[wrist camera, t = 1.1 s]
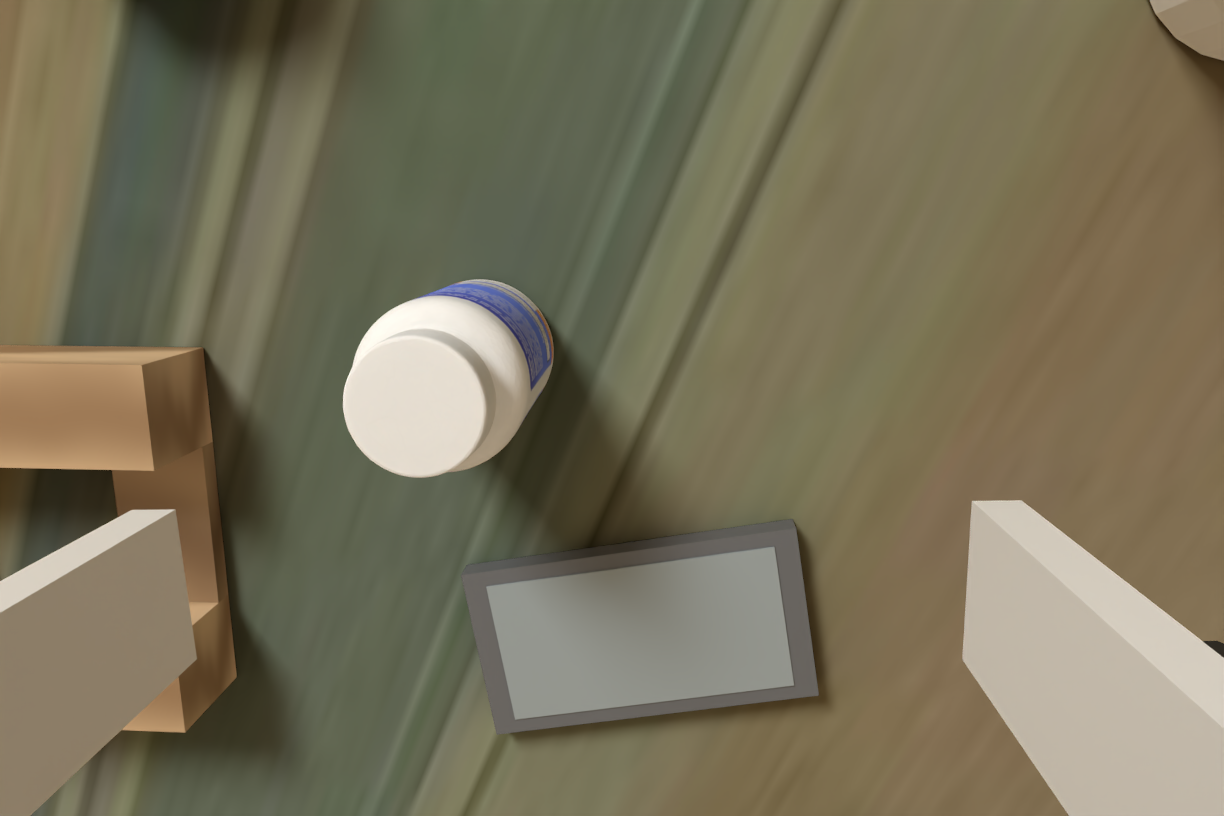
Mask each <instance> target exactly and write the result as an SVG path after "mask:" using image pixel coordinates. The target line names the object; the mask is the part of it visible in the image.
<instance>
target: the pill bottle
mask: <svg viewBox="0 0 1224 816" xmlns="http://www.w3.org/2000/svg"><path fill="white" fill-rule="evenodd" d="M553 358H554V347H553V340H552V335H551V332H550V329H549V326H548V324H547V322H546V320H545V318H544V316H543V315H542V313H541V311H540V310H539V309H538V308H537V306H536V305H535V304H534V303H533V302H532V301H531V300H530V299H529V298H528V297H526V296H525V295H524V294H523V293H521V292H520V291H518V290H517V289H515V288H513V287H511V286H509V285H506V284H504V283H501V282H497V281H492V280H482V279H477V280H468V281H463V282H459V283H455V284H453V285H450V286H448V287H445V288H442V289H440V290H437V291H435V292H432V293H429V294H427V295H424V296H422V297H419V298H416V299H413V300H411V301H408V302H405V303H403V304H401V305H399V306H397V307H395V308H393V309H392V310H390V311H388V312H387V313H386V314H384V315H383V316H382V317H381V318H379V319H378V320H377V321H376V322H375V323H374V324H373V325H372V327H371V328H370V329H369V330H368V332H367V333H366V334H365V336H364V337H363V339H362V341H361V343H360V345H359V347H358V349H357V352H356V355H355V358H354V362H353V367H352V369H351V371H350V374H349V375H348V378H347V381H346V384H345V388H344V394H343V411H344V416H345V421H346V424H347V427H348V430H349V432H350V434H351V436H352V438H353V440H354V441H355V443H356V444H357V446H358V447H359V448H360V449H361V451H362V452H363V453H364V454H365V455H366V456H367V457H368V458H369V459H370V460H372V461H373V462H374V463H376V464H377V465H379V466H380V467H382V468H384V469H386V470H388V471H390V472H392V473H395V474H398V475H402V476H407V477H416V478H423V477H432V476H437V475H440V474H443V473H446V472H455V471H460V470H465V469H469V468H472V467H474V466H477V465H479V464H481V463H483V462H485V461H487V460H489V459H490V458H492V457H493V456H494V455H496V454H497V453H499V452H500V451H501V450H502V449H503V448H504V447H505V446H506V445H507V444H508V443H509V441H510V440H511V439H512V438H513V436H514V435H515V433H516V432H517V430H518V429H519V427H520V426H521V424H522V422H523V421H524V419H525V417H526V416H527V414H528V412H529V411H530V409H531V407H532V406H533V404H534V403H535V401H536V400H537V398H538V397H539V395H540V394H541V392H542V391H543V389H544V387H545V385H546V383H547V381H548V378H549V376H550V373H551V369H552V365H553Z"/></svg>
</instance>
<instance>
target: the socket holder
mask: <svg viewBox="0 0 1224 816" xmlns="http://www.w3.org/2000/svg"><path fill="white" fill-rule="evenodd" d="M0 468H42V469H90V470H112V475H113V483H114V491H115V498H116V506H117V514H118V517H120V516H121V515H123V514H125V513H127V512H129V511H131V510H168V509H175V510H176V517H177V524H178V530H179V537H180V544H181V551H182V558H183V565H184V572H185V579H186V586H187V593H188V600H189V607H190V614H191V621H192V628H193V635H194V642H195V649H196V656H197V660H195V661H194V662H193V663H192V664H191V665H190V666H189V667H188V668H187V669H186V670H185V671H184V672H183V673H182V674H181V675H179V676H178V677H177V678H176V679H175V680H174V681H173V682H172V683H171V684H170V685H169V686H168V687H167V688H166V689H165V690H163V691H162V692H161V693H160V694H159V695H158V696H157V697H156V698H155V699H154V700H153V701H152V702H151V703H150V704H149V705H147V706H146V707H145V708H144V709H143V710H142V711H141V712H140V713H139V714H138V715H137V716H136V717H135V718H134V719H133V720H131V721H130V722H129V723H128V724H127V725H126V726H125V727H124V728H123V729H122V730H133V731H158V732H184V733H185V732H186V731H187V730H188V729H189V728H190V727H191V726H192V725H193V724H194V723H195V721H196V720H197V719H198V718H199V717H200V716H201V715H202V714H203V713H204V712H205V711H206V710H207V709H208V707H209V706H210V705H211V704H212V703H213V702H214V701H215V700H216V699H217V698H218V697H219V696H220V695H221V694H222V692H223V691H224V690H225V689H226V688H227V687H228V686H229V685H230V684H231V683H232V682H233V681H234V680H235V678H236V677H237V673H236V664H235V654H234V644H233V634H232V625H231V615H230V605H229V595H228V585H227V576H226V566H225V556H224V546H223V537H222V527H221V517H220V507H219V497H218V488H217V478H216V468H215V458H214V449H213V439H212V429H211V419H210V409H209V400H208V390H207V380H206V370H205V361H204V351H203V348H201V347H117V346H32V345H0Z"/></svg>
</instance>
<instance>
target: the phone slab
mask: <svg viewBox="0 0 1224 816" xmlns="http://www.w3.org/2000/svg"><path fill="white" fill-rule="evenodd" d="M461 577H462V581H463V586H464V590H465V595H466V599H467V604H468V608H469V613H470V617H471V622H472V626H473V631H474V635H475V639H476V644H477V648H478V653H479V657H480V662H481V666H482V671H483V675H484V680H485V684H486V689H487V693H488V697H489V702H490V706H491V711H492V715H493V720H494V724H495V729H496V733H497V734H505V733H513V732H521V731H530V730H538V729H546V728H554V727H563V726H571V725H579V724H587V723H596V722H604V721H612V720H620V719H629V718H637V717H645V716H653V715H662V714H670V713H678V712H686V711H695V710H703V709H711V708H720V707H728V706H736V705H744V704H753V703H761V702H769V701H777V700H786V699H794V698H802V697H810V696H819V692H818V685H817V678H816V670H815V663H814V655H813V648H812V641H811V633H810V626H809V619H808V611H807V604H806V597H805V589H804V582H803V575H802V567H801V560H800V553H799V545H798V538H797V531H796V527H795V524H794V522H793V519H790V520H783V521H776V522H769V523H761V524H754V525H747V526H740V527H733V528H726V529H719V530H712V531H705V532H698V533H691V534H684V535H676V536H669V537H662V538H655V539H648V540H641V541H634V542H627V543H620V544H613V545H606V546H599V547H591V548H584V549H577V550H570V551H563V552H556V553H549V554H542V555H535V556H528V557H521V558H514V559H506V560H499V561H492V562H485V563H478V564H471V565H467V566H466V568H465V569H464V571H463V573H462V575H461Z"/></svg>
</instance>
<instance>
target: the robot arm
mask: <svg viewBox="0 0 1224 816" xmlns="http://www.w3.org/2000/svg"><path fill="white" fill-rule="evenodd" d="M195 660H197V656H196V649H195V642H194V635H193V628H192V621H191V614H190V607H189V600H188V593H187V586H186V579H185V572H184V565H183V558H182V551H181V544H180V537H179V530H178V524H177V517H176V510H175V509H168V510H131V511H129V512H127V513H125V514H123V515H121V516H120V517H118V518H116V519H114V520H112V521H110V522H109V523H107V524H105V525H103V526H101V527H99V528H97V529H96V530H94V531H92V532H90V533H88V534H86V535H85V536H83V537H81V538H79V539H77V540H75V541H73V542H72V543H70V544H68V545H66V546H64V547H62V548H61V549H59V550H57V551H55V552H53V553H51V554H50V555H48V556H46V557H44V558H42V559H40V560H38V561H37V562H35V563H33V564H31V565H29V566H27V567H26V568H24V569H22V570H20V571H18V572H16V573H14V574H13V575H11V576H9V577H7V578H5V579H3V580H2V581H0V816H30V815H31V814H32V813H33V812H34V811H36V810H37V809H38V808H39V807H40V806H41V805H42V804H43V803H44V802H45V801H46V800H47V799H48V798H49V797H50V796H52V795H53V794H54V793H55V792H56V791H57V790H58V789H59V788H60V787H61V786H62V785H63V784H64V783H65V782H66V781H68V780H69V779H70V778H71V777H72V776H73V775H74V774H75V773H76V772H77V771H78V770H79V769H80V768H81V767H82V766H84V765H85V764H86V763H87V762H88V761H89V760H90V759H91V758H92V757H93V756H94V755H95V754H96V753H97V752H98V751H100V750H101V749H102V748H103V747H104V746H105V745H106V744H107V743H108V742H109V741H110V740H111V739H112V738H113V737H114V736H116V735H117V734H118V733H119V732H120V731H121V730H122V729H123V728H124V727H125V726H126V725H127V724H128V723H129V722H130V721H131V720H133V719H134V718H135V717H136V716H137V715H138V714H139V713H140V712H141V711H142V710H143V709H144V708H145V707H146V706H147V705H149V704H150V703H151V702H152V701H153V700H154V699H155V698H156V697H157V696H158V695H159V694H160V693H161V692H162V691H163V690H165V689H166V688H167V687H168V686H169V685H170V684H171V683H172V682H173V681H174V680H175V679H176V678H177V677H178V676H179V675H181V674H182V673H183V672H184V671H185V670H186V669H187V668H188V667H189V666H190V665H191V664H192V663H193V662H194V661H195ZM962 660H963V661H964V663H965V664H966V666H967V667H968V669H969V670H970V671H971V673H972V674H973V676H974V677H975V679H976V680H977V682H978V683H979V685H980V686H981V688H982V689H983V690H984V692H985V693H986V695H987V696H988V698H989V699H990V701H991V702H992V704H993V705H994V707H995V708H996V709H997V711H998V712H999V714H1000V715H1001V717H1002V718H1003V720H1004V721H1005V723H1006V724H1007V726H1008V727H1009V729H1010V730H1011V731H1012V733H1013V734H1014V736H1015V737H1016V739H1017V740H1018V742H1019V743H1020V745H1021V746H1022V748H1023V749H1024V750H1025V752H1026V753H1027V755H1028V756H1029V758H1030V759H1031V761H1032V762H1033V764H1034V765H1035V767H1036V768H1037V769H1038V771H1039V772H1040V774H1041V775H1042V777H1043V778H1044V780H1045V781H1046V783H1047V784H1048V786H1049V787H1050V788H1051V790H1052V791H1053V793H1054V794H1055V796H1056V797H1057V799H1058V800H1059V802H1060V803H1061V805H1062V806H1063V807H1064V809H1065V810H1066V812H1067V813H1068V815H1069V816H1224V644H1223V643H1221V642H1218V641H1201V640H1200V639H1199V638H1198V637H1196V636H1195V635H1194V634H1192V633H1191V632H1190V631H1189V630H1187V629H1186V628H1185V627H1183V626H1182V625H1181V624H1180V623H1178V622H1177V621H1176V620H1174V619H1173V618H1172V617H1171V616H1169V615H1168V614H1167V613H1165V612H1164V611H1163V610H1162V609H1160V608H1159V607H1158V606H1156V605H1155V604H1154V603H1153V602H1151V601H1150V600H1149V599H1147V598H1146V597H1145V596H1144V595H1142V594H1141V593H1140V592H1138V591H1137V590H1136V589H1135V588H1133V587H1132V586H1131V585H1129V584H1128V583H1127V582H1126V581H1124V580H1123V579H1122V578H1120V577H1119V576H1118V575H1117V574H1115V573H1114V572H1113V571H1111V570H1110V569H1109V568H1108V567H1106V566H1105V565H1104V564H1102V563H1101V562H1100V561H1099V560H1097V559H1096V558H1095V557H1093V556H1092V555H1091V554H1090V553H1088V552H1087V551H1086V550H1084V549H1083V548H1082V547H1081V546H1079V545H1078V544H1077V543H1075V542H1074V541H1073V540H1072V539H1070V538H1069V537H1068V536H1066V535H1065V534H1064V533H1063V532H1061V531H1060V530H1059V529H1057V528H1056V527H1055V526H1054V525H1052V524H1051V523H1050V522H1048V521H1047V520H1046V519H1045V518H1043V517H1042V516H1041V515H1039V514H1038V513H1037V512H1036V511H1034V510H1033V509H1032V508H1030V507H1029V506H1028V505H1027V504H1025V503H1024V502H1023V501H1021V500H1018V501H972V508H971V525H970V542H969V558H968V575H967V592H966V609H965V625H964V642H963V659H962Z"/></svg>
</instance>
